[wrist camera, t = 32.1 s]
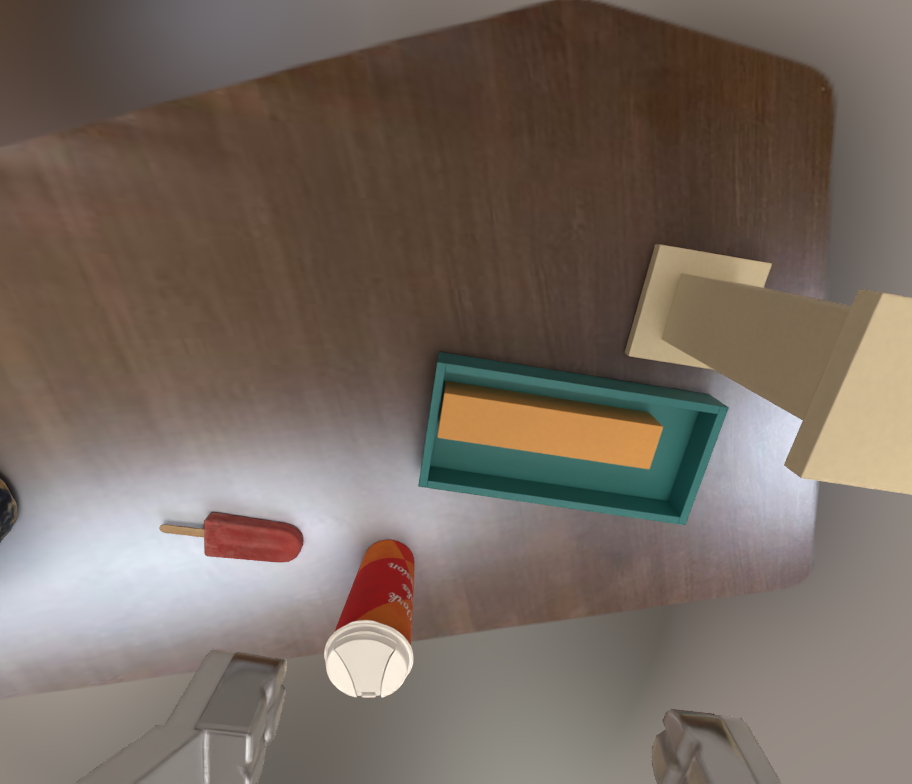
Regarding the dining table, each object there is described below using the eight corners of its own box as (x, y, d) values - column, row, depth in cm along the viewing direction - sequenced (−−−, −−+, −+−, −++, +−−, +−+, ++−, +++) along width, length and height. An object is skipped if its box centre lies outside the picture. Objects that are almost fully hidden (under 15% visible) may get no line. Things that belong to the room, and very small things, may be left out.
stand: (613, 351, 46) (791, 498, 21) (643, 242, 42) (894, 265, 18) (736, 370, 46) (1048, 536, 22) (775, 264, 43) (1194, 316, 18)
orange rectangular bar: (438, 422, 48) (437, 437, 44) (445, 380, 46) (444, 393, 43) (636, 452, 48) (649, 469, 45) (649, 412, 47) (663, 426, 44)
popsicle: (153, 514, 50) (300, 532, 51) (163, 505, 52) (305, 522, 52) (156, 550, 51) (298, 567, 52) (165, 540, 53) (303, 557, 54)
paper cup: (425, 588, 55) (413, 704, 42) (357, 588, 55) (324, 703, 42) (423, 529, 52) (410, 633, 39) (352, 530, 52) (315, 632, 39)
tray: (421, 468, 50) (418, 486, 47) (439, 351, 46) (437, 361, 42) (670, 505, 51) (685, 525, 48) (709, 394, 47) (729, 407, 44)
